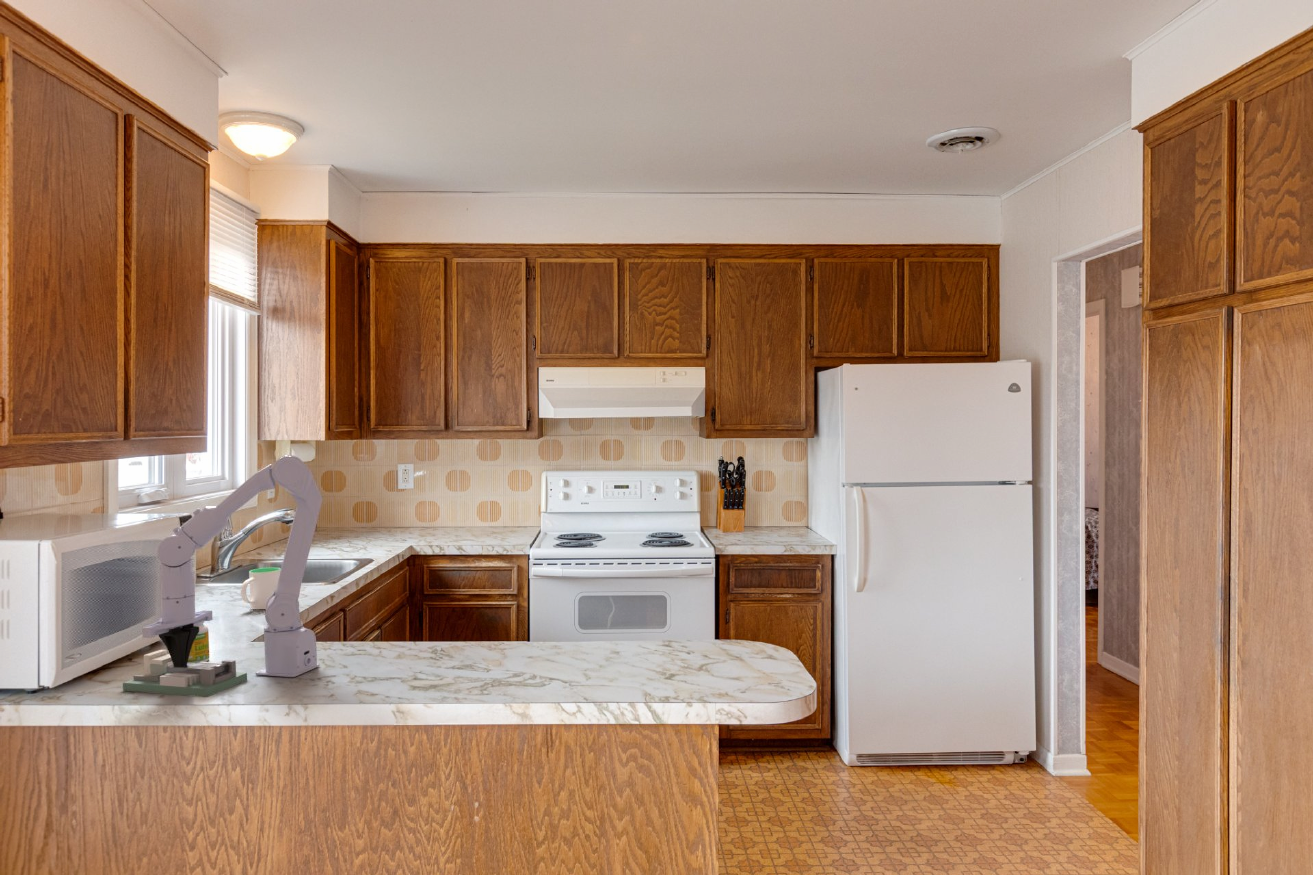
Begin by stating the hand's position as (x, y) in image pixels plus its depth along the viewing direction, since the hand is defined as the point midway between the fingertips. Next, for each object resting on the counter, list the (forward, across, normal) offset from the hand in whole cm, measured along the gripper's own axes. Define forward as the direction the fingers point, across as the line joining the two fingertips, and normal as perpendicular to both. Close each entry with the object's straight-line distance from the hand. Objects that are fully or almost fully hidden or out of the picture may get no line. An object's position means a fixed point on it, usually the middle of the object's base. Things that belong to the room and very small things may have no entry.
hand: (180, 665), depth 161 cm
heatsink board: (+4, 0, +1) cm, 4 cm away
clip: (+2, 0, -5) cm, 5 cm away
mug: (+4, -62, -37) cm, 72 cm away
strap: (+1, 0, +4) cm, 4 cm away
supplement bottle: (+4, -14, -11) cm, 18 cm away
